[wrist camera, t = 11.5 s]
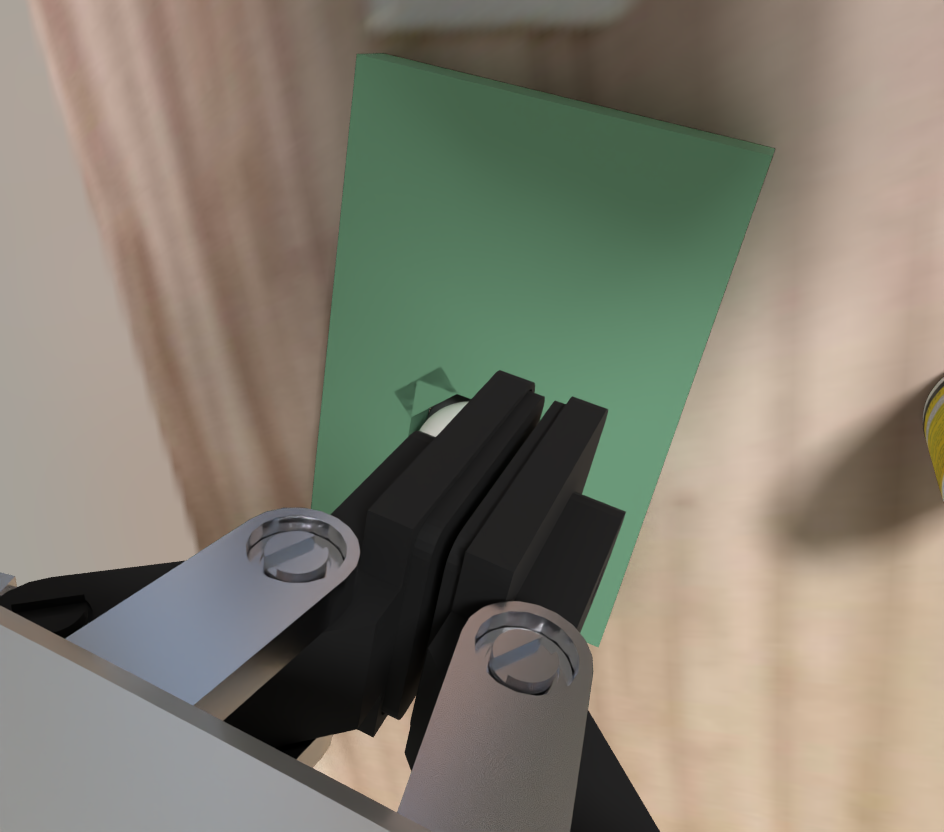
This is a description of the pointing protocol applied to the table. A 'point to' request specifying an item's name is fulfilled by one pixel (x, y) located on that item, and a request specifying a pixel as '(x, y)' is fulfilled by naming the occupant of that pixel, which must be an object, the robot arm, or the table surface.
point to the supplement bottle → (935, 430)
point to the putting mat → (524, 272)
